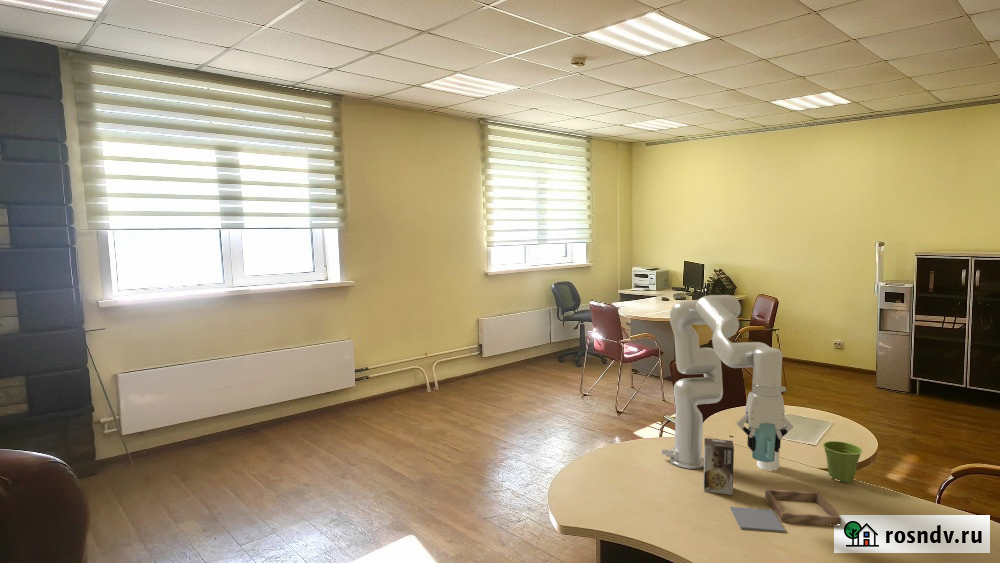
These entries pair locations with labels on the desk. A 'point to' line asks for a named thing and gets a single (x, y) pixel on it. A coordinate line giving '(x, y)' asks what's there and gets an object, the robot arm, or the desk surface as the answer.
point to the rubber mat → (757, 519)
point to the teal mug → (765, 443)
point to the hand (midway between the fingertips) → (763, 449)
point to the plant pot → (842, 459)
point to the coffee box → (718, 466)
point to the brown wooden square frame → (797, 517)
